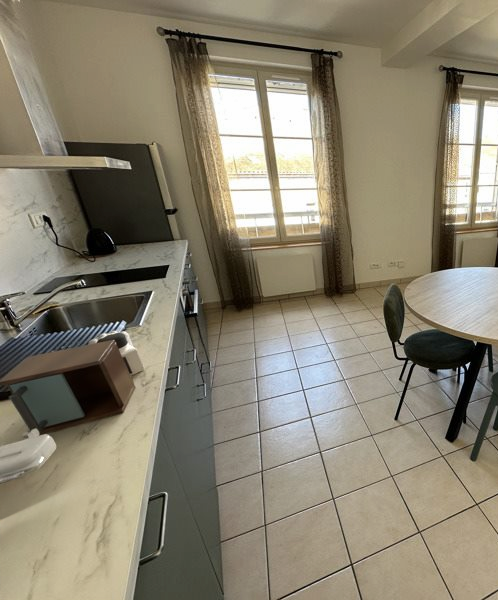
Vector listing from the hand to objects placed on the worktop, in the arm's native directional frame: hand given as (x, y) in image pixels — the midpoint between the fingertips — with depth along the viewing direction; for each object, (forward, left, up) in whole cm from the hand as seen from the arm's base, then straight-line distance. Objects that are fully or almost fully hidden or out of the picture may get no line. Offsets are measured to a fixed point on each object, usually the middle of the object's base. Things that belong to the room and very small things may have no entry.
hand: (3, 440), depth 67 cm
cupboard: (+6, +18, -8) cm, 21 cm away
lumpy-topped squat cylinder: (+4, +47, -8) cm, 48 cm away
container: (+10, +34, -8) cm, 36 cm away
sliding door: (+3, +10, -7) cm, 12 cm away
